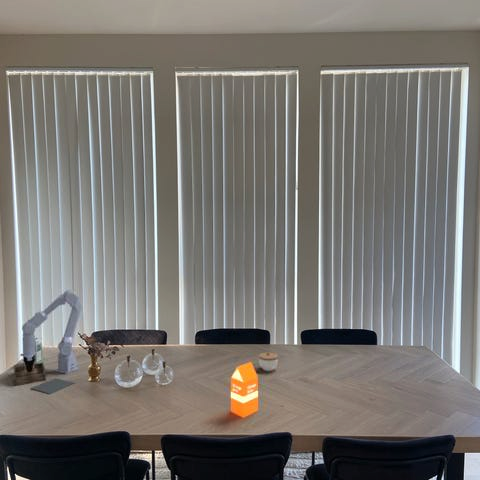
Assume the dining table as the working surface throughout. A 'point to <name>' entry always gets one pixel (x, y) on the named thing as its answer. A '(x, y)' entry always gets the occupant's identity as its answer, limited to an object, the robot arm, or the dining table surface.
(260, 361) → the lidded jar
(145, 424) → the dining table surface
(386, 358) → the dining table surface
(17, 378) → the walnut crate
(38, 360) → the syrup box
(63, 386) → the rubber mat
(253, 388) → the orange juice
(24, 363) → the birch block
